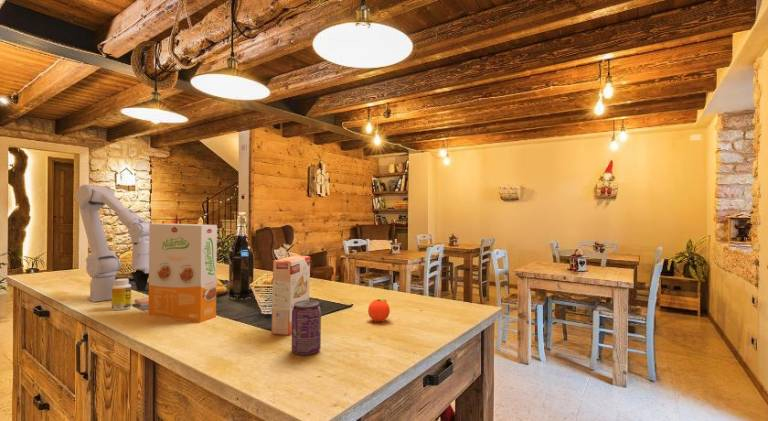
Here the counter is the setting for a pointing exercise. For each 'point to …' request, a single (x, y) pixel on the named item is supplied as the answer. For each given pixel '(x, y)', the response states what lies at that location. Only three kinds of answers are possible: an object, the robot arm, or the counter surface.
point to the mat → (141, 307)
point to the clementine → (379, 310)
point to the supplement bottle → (121, 294)
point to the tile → (142, 301)
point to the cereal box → (183, 271)
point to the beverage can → (306, 327)
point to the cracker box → (288, 290)
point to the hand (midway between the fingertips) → (141, 290)
